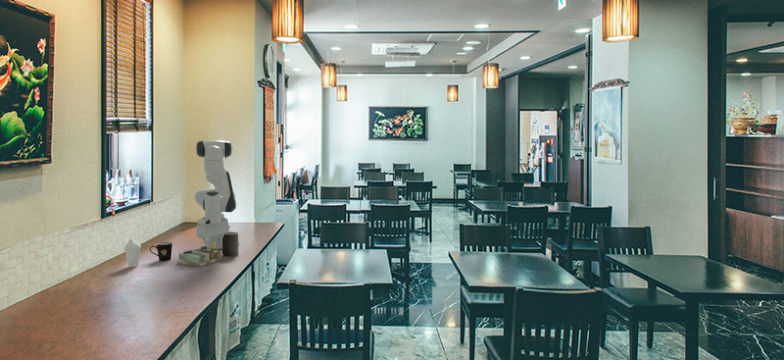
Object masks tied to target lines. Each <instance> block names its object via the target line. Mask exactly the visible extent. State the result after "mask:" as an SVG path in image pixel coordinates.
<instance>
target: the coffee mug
mask: <svg viewBox="0 0 784 360" xmlns="http://www.w3.org/2000/svg"><path fill="white" fill-rule="evenodd" d="M155 245H156V246H155ZM155 245H152V246H150V247H149V251H150V252H151V254H153V255H155V256H157V257H158V260H159V262H167V261H171V260H172V253H173V241H161V242H160V241H159V242H157V243H155ZM152 248H155V250H157V253H155V252H153V251H152Z"/></svg>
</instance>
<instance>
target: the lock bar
mask: <svg viewBox="0 0 784 360" xmlns="http://www.w3.org/2000/svg"><path fill="white" fill-rule="evenodd" d="M200 248H201V250H203V251H208V252H213V253H215V252H217V250H218V249H216V243H211V249H209V248H207V246H205V245H201V246H200Z"/></svg>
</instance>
